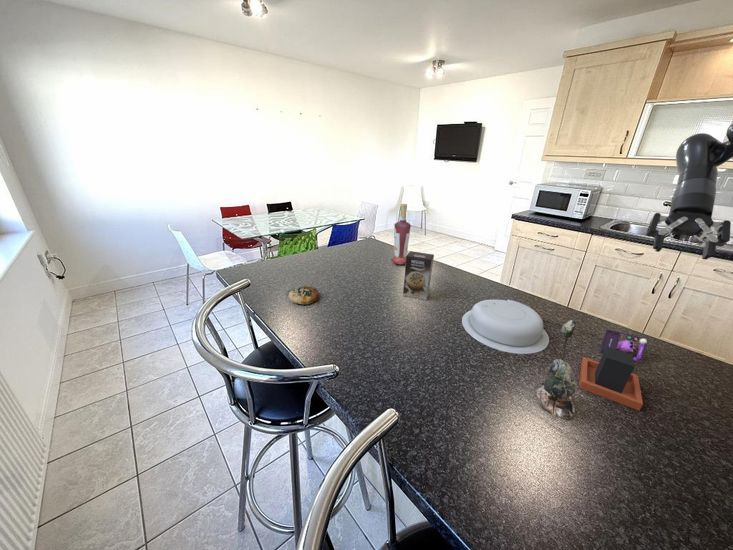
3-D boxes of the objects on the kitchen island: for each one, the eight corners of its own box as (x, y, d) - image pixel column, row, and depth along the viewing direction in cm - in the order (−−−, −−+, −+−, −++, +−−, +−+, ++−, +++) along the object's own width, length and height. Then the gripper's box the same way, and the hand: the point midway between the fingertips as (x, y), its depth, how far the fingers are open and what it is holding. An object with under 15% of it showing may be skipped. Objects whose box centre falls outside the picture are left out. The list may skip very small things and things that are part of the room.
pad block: (620, 381, 71) (632, 354, 68) (621, 394, 67) (634, 366, 64) (594, 372, 74) (606, 346, 70) (594, 384, 70) (606, 357, 67)
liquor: (408, 266, 137) (413, 206, 125) (392, 266, 137) (396, 205, 125) (406, 260, 144) (411, 202, 132) (391, 260, 143) (394, 202, 132)
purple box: (607, 329, 80) (650, 339, 76) (602, 326, 85) (642, 335, 81) (600, 352, 81) (642, 363, 77) (596, 348, 86) (635, 358, 82)
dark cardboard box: (402, 296, 110) (405, 255, 103) (406, 289, 115) (409, 250, 109) (426, 300, 107) (431, 259, 100) (429, 293, 112) (434, 253, 106)
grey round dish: (492, 359, 78) (497, 340, 76) (447, 311, 100) (450, 295, 98) (569, 347, 83) (576, 329, 81) (511, 304, 106) (515, 289, 103)
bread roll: (321, 290, 112) (320, 279, 109) (316, 309, 102) (315, 297, 100) (293, 291, 112) (291, 279, 109) (285, 309, 103) (282, 297, 100)
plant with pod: (523, 406, 64) (547, 330, 56) (542, 381, 71) (567, 310, 63) (564, 431, 59) (599, 351, 50) (581, 402, 66) (614, 326, 57)
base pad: (634, 381, 72) (637, 374, 71) (639, 411, 64) (643, 404, 63) (580, 362, 78) (583, 356, 77) (579, 387, 69) (581, 381, 69)
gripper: (661, 188, 77) (649, 240, 73) (742, 194, 69) (733, 252, 65) (650, 206, 83) (638, 255, 79) (723, 213, 75) (714, 267, 71)
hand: (681, 254), depth 72 cm, fingers open, 8 cm apart
